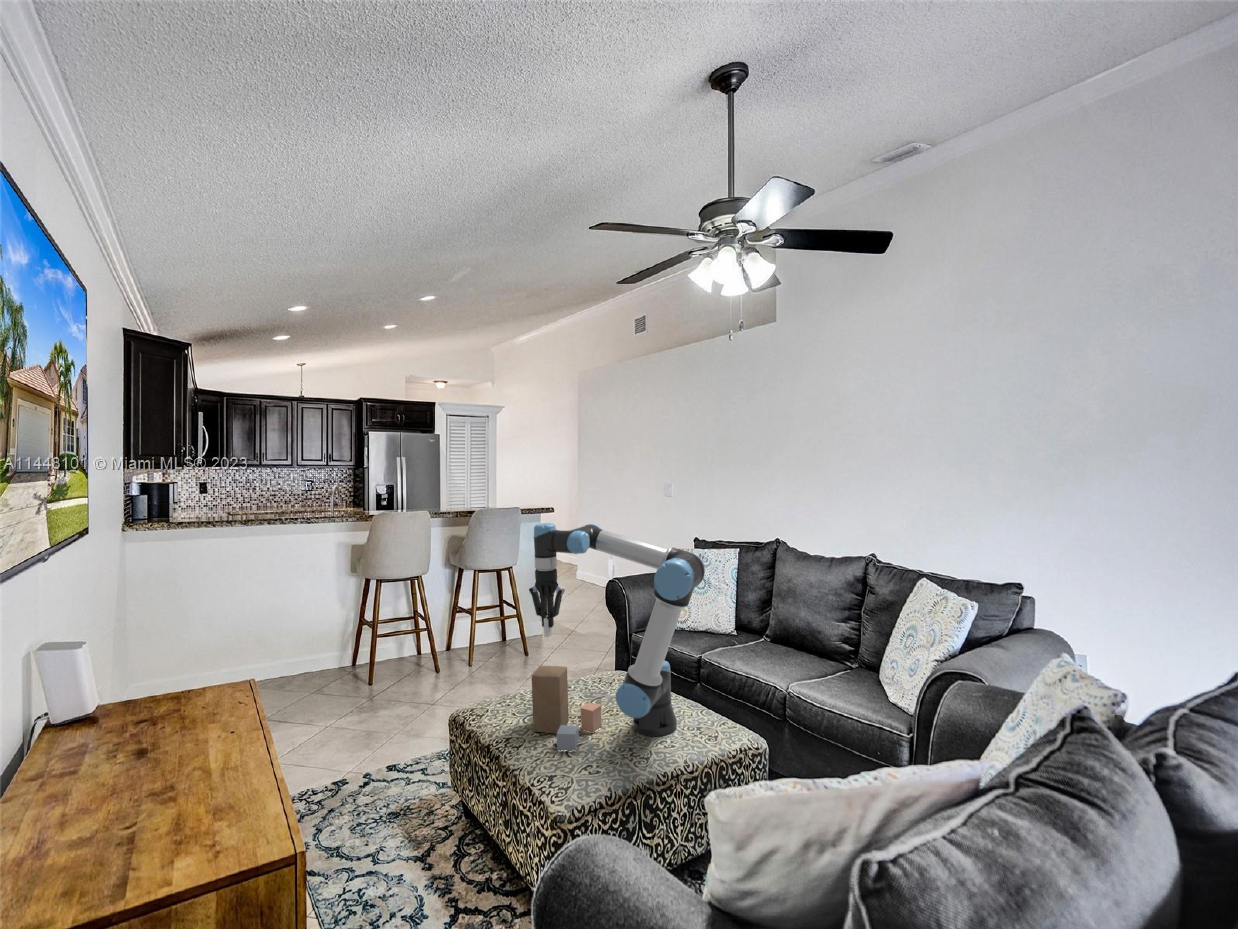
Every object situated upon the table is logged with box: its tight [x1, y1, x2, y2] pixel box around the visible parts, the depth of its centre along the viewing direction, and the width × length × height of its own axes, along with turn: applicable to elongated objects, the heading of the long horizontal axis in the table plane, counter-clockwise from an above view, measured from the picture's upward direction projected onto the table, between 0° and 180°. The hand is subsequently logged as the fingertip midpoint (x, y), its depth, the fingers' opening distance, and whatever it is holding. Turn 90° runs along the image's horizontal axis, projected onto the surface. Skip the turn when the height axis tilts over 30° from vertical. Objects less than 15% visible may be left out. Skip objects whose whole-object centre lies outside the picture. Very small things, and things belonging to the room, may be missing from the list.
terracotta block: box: [580, 702, 603, 732], centre depth 218 cm, size 5×5×8 cm
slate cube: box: [556, 724, 580, 751], centre depth 206 cm, size 6×6×6 cm
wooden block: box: [531, 665, 570, 734], centre depth 220 cm, size 10×10×20 cm
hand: (548, 636), depth 219 cm, fingers closed
